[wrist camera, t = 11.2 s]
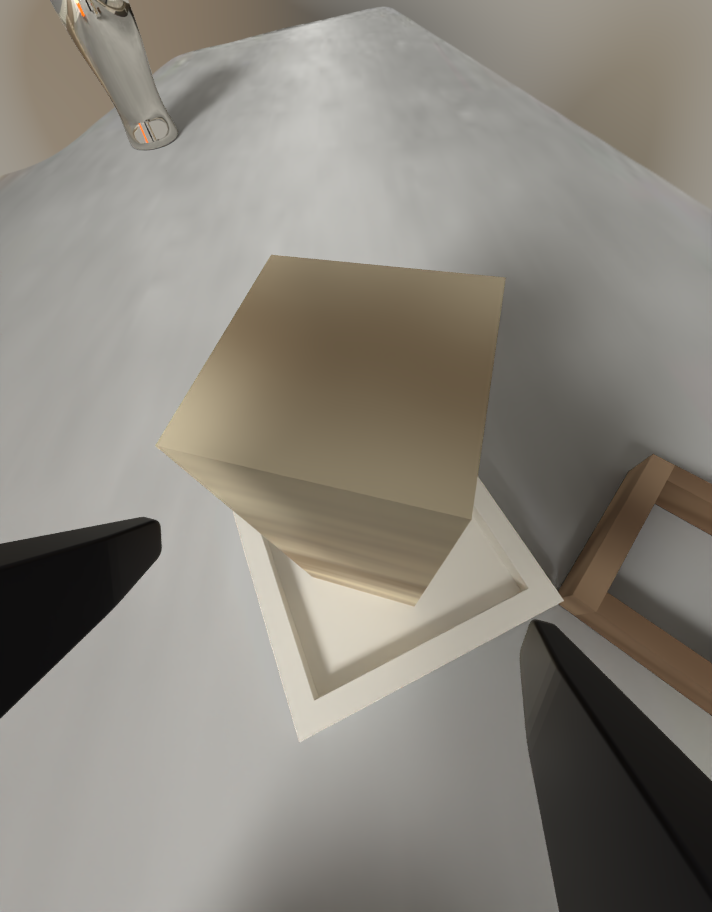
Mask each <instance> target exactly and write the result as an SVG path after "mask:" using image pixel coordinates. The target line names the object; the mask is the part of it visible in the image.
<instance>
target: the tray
mask: <svg viewBox="0 0 712 912" xmlns="http://www.w3.org/2000/svg"><path fill="white" fill-rule="evenodd" d="M232 511H233V510H232ZM233 514H234V518H235V521H236V525H237V528H238V532H239V535H240V539H241V542H242V546H243V549H244V553H245V556H246V560H247V563H248V567H249V570H250V573H251V577H252V580H253V584H254V587H255V591H256V594H257V598H258V601H259V605H260V608H261V612H262V615H263V619H264V622H265V626H266V629H267V632H268V636H269V639H270V643H271V646H272V650H273V653H274V657H275V660H276V664H277V667H278V671H279V674H280V678H281V681H282V685H283V688H284V691H285V695H286V698H287V702H288V705H289V709H290V712H291V716H292V719H293V723H294V726H295V730H296V733H297V737H298V740H299V742H301V741H303V740H305V739H307V738H309V737H311V736H313V735H314V734H316V733H318V732H320V731H322V730H324V729H326V728H327V727H329V726H331V725H333V724H335V723H337V722H339V721H341V720H342V719H344V718H346V717H348V716H350V715H352V714H354V713H355V712H357V711H359V710H361V709H363V708H365V707H367V706H369V705H370V704H372V703H374V702H376V701H378V700H380V699H382V698H383V697H385V696H387V695H389V694H391V693H393V692H395V691H397V690H398V689H400V688H402V687H404V686H406V685H408V684H410V683H411V682H413V681H415V680H417V679H419V678H421V677H423V676H425V675H426V674H428V673H430V672H432V671H434V670H436V669H438V668H439V667H441V666H443V665H445V664H447V663H449V662H451V661H452V660H454V659H456V658H458V657H460V656H462V655H464V654H466V653H467V652H469V651H471V650H473V649H475V648H477V647H479V646H480V645H482V644H484V643H486V642H488V641H490V640H492V639H494V638H495V637H497V636H499V635H501V634H503V633H505V632H507V631H508V630H510V629H512V628H514V627H516V626H518V625H520V624H522V623H523V622H525V621H527V620H529V619H531V618H533V617H535V616H536V615H538V614H540V613H542V612H544V611H546V610H548V609H550V608H551V607H553V606H555V605H557V604H559V603H561V602H563V601H564V600H563V598H562V597H561V595H560V594H559V593H558V591H557V590H556V588H555V587H554V585H553V584H552V582H551V581H550V580H549V578H548V577H547V575H546V574H545V572H544V571H543V569H542V568H541V567H540V565H539V564H538V562H537V561H536V559H535V558H534V557H533V555H532V554H531V552H530V551H529V549H528V548H527V546H526V545H525V544H524V542H523V541H522V539H521V538H520V536H519V535H518V533H517V532H516V531H515V529H514V528H513V526H512V525H511V523H510V522H509V520H508V519H507V518H506V516H505V515H504V513H503V512H502V510H501V509H500V507H499V506H498V505H497V503H496V502H495V500H494V499H493V497H492V496H491V494H490V493H489V492H488V490H487V489H486V487H485V486H484V484H483V483H482V481H481V480H480V479H479V477H477V485H476V492H475V499H474V506H473V513H472V520H471V521H470V523H469V524H468V526H467V527H466V529H465V530H464V532H463V533H462V535H461V536H460V538H459V539H458V541H457V542H456V544H455V545H454V547H453V549H452V550H451V552H450V553H449V555H448V556H447V558H446V559H445V561H444V562H443V564H442V565H441V567H440V568H439V570H438V571H437V573H436V574H435V576H434V577H433V579H432V581H431V582H430V584H429V585H428V587H427V588H426V590H425V591H424V593H423V594H422V596H421V597H420V599H419V600H418V602H417V603H416V605H415V606H410V605H407V604H403V603H400V602H397V601H393V600H390V599H386V598H383V597H379V596H376V595H372V594H369V593H366V592H362V591H359V590H355V589H352V588H348V587H345V586H342V585H338V584H335V583H331V582H328V581H324V580H321V579H317V578H314V577H312V576H311V575H309V574H308V573H307V572H306V571H305V570H303V569H302V568H301V567H300V566H299V565H297V564H296V563H295V562H294V561H293V560H291V559H290V558H289V557H288V556H287V555H285V554H284V553H283V552H282V551H281V550H279V549H278V548H277V547H276V546H275V545H273V544H272V543H271V542H270V541H269V540H267V539H266V538H265V537H264V536H263V535H261V534H260V533H259V532H258V531H257V530H256V529H254V528H253V527H252V526H251V525H250V524H248V523H247V522H246V521H245V520H244V519H242V518H241V517H240V516H239V515H238V514H236V513H235V512H234V511H233Z"/></svg>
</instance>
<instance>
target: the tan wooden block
mask: <svg viewBox="0 0 712 912" xmlns="http://www.w3.org/2000/svg"><path fill="white" fill-rule="evenodd" d="M505 279H506V278H504V277H494V276H484V275H473V274H463V273H453V272H442V271H432V270H422V269H411V268H401V267H391V266H380V265H370V264H360V263H350V262H339V261H329V260H319V259H308V258H298V257H288V256H277V255H271V256H270V258H269V259H268V261H267V263H266V264H265V266H264V267H263V269H262V271H261V272H260V274H259V276H258V277H257V279H256V281H255V282H254V284H253V286H252V287H251V289H250V291H249V292H248V294H247V296H246V297H245V299H244V300H243V302H242V304H241V305H240V307H239V309H238V310H237V312H236V314H235V315H234V317H233V319H232V320H231V322H230V324H229V325H228V327H227V328H226V330H225V332H224V333H223V335H222V337H221V338H220V340H219V342H218V343H217V345H216V347H215V348H214V350H213V352H212V353H211V355H210V356H209V358H208V360H207V361H206V363H205V365H204V366H203V368H202V370H201V371H200V373H199V375H198V376H197V378H196V380H195V381H194V383H193V385H192V386H191V388H190V389H189V391H188V393H187V394H186V396H185V398H184V399H183V401H182V403H181V404H180V406H179V408H178V409H177V411H176V413H175V414H174V416H173V417H172V419H171V421H170V422H169V424H168V426H167V427H166V429H165V431H164V432H163V434H162V436H161V437H160V439H159V441H158V442H157V444H156V445H155V446H156V447H157V448H159V449H160V450H161V451H162V452H163V453H165V454H166V455H167V456H168V457H169V458H171V459H172V460H173V461H174V462H175V463H177V464H178V465H179V466H180V467H181V468H183V469H184V470H185V471H186V472H187V473H189V474H190V475H191V476H192V477H193V478H195V479H196V480H197V481H198V482H199V483H201V484H202V485H203V486H204V487H205V488H206V489H208V490H209V491H210V492H211V493H212V494H214V495H215V496H216V497H217V498H218V499H220V500H221V501H222V502H223V503H224V504H226V505H227V506H228V507H229V508H230V509H232V510H233V511H234V512H235V513H236V514H238V515H239V516H240V517H241V518H242V519H244V520H245V521H246V522H247V523H248V524H250V525H251V526H252V527H253V528H254V529H256V530H257V531H258V532H259V533H260V534H261V535H263V536H264V537H265V538H266V539H267V540H269V541H270V542H271V543H272V544H273V545H275V546H276V547H277V548H278V549H279V550H281V551H282V552H283V553H284V554H285V555H287V556H288V557H289V558H290V559H291V560H293V561H294V562H295V563H296V564H297V565H299V566H300V567H301V568H302V569H303V570H305V571H306V572H307V573H308V574H309V575H311V576H312V577H314V578H317V579H321V580H324V581H328V582H331V583H335V584H338V585H342V586H345V587H348V588H352V589H355V590H359V591H362V592H366V593H369V594H372V595H376V596H379V597H383V598H386V599H390V600H393V601H397V602H400V603H403V604H407V605H410V606H415V605H416V603H417V602H418V600H419V599H420V597H421V596H422V594H423V593H424V591H425V590H426V588H427V587H428V585H429V584H430V582H431V581H432V579H433V577H434V576H435V574H436V573H437V571H438V570H439V568H440V567H441V565H442V564H443V562H444V561H445V559H446V558H447V556H448V555H449V553H450V552H451V550H452V549H453V547H454V545H455V544H456V542H457V541H458V539H459V538H460V536H461V535H462V533H463V532H464V530H465V529H466V527H467V526H468V524H469V523H470V521H471V520H472V513H473V506H474V499H475V492H476V485H477V477H478V470H479V463H480V456H481V449H482V442H483V435H484V428H485V421H486V414H487V406H488V399H489V392H490V385H491V378H492V371H493V364H494V357H495V350H496V342H497V335H498V328H499V321H500V314H501V307H502V300H503V293H504V286H505Z"/></svg>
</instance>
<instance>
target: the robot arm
mask: <svg viewBox="0 0 712 912" xmlns="http://www.w3.org/2000/svg"><path fill="white" fill-rule="evenodd" d="M161 550H162V544H161V526H160V523H159V522H158V521H157V520H154V519H150V518H147V517H139V518H134V519H128V520H123V521H118V522H113V523H107V524H102V525H97V526H92V527H86V528H81V529H76V530H71V531H65V532H60V533H55V534H50V535H44V536H39V537H34V538H29V539H23V540H18V541H13V542H8V543H2V544H0V718H1V717H3V716H4V715H5V714H6V713H7V712H8V711H9V710H10V709H11V708H12V707H13V706H14V705H15V704H16V703H17V702H18V701H19V700H20V699H21V698H22V697H23V696H24V695H25V694H26V693H27V692H28V691H29V690H30V689H31V688H32V687H33V686H34V685H36V684H37V683H38V682H39V681H40V680H41V679H42V678H43V677H44V676H45V675H46V674H47V673H48V672H49V671H50V670H51V669H52V668H53V667H54V666H55V665H56V664H57V663H58V662H59V661H60V660H61V659H62V658H63V657H64V656H65V655H66V654H67V653H68V652H70V651H71V650H72V649H73V648H74V647H75V646H76V645H77V644H78V643H79V642H80V641H81V640H82V639H83V638H84V637H85V636H86V635H87V634H88V633H89V632H90V631H91V630H92V629H93V628H94V627H95V626H96V625H97V624H98V623H99V622H100V621H101V620H102V619H104V618H105V617H106V616H107V615H108V614H109V613H110V612H111V611H112V610H113V609H114V608H115V606H116V605H117V604H118V603H119V602H120V601H121V600H122V599H123V598H124V596H125V595H126V594H127V593H128V592H129V591H130V590H131V588H132V587H133V586H134V585H135V584H136V583H137V582H138V580H139V579H140V578H141V577H142V576H143V575H144V574H145V572H146V571H147V570H148V569H149V568H150V567H151V566H152V564H153V563H154V562H155V561H156V560H157V559H158V557H159V555H160V553H161ZM520 671H521V683H522V694H523V706H524V717H525V728H526V738H527V745H528V751H529V757H530V762H531V767H532V773H533V778H534V783H535V788H536V793H537V799H538V804H539V809H540V814H541V819H542V825H543V830H544V835H545V840H546V845H547V851H548V856H549V861H550V866H551V871H552V876H553V882H554V887H555V892H556V897H557V902H558V908H559V912H712V781H711V780H710V779H709V778H708V777H707V776H706V775H705V774H704V773H703V772H702V771H701V770H700V769H699V768H698V767H697V766H696V765H695V764H694V763H693V762H692V761H691V760H690V759H689V758H688V757H687V756H686V755H685V754H684V753H683V752H682V751H681V750H680V749H679V748H678V747H677V746H676V745H675V744H674V743H673V742H672V741H671V740H670V739H669V738H668V737H667V736H666V735H665V734H664V733H663V732H662V731H661V730H660V729H659V728H658V727H657V726H656V725H655V724H654V723H653V722H652V721H651V720H650V719H649V718H648V717H647V716H646V715H645V714H644V713H643V712H642V711H641V710H640V709H639V708H638V707H637V706H636V705H635V704H634V703H633V702H632V701H631V700H630V699H629V698H628V697H627V696H626V695H625V694H624V693H623V692H622V691H621V690H620V689H619V688H618V687H617V686H616V685H615V684H614V683H613V682H612V681H611V680H610V679H609V678H608V677H607V676H606V675H605V674H604V673H603V672H602V671H601V670H600V669H599V668H598V667H597V666H596V665H595V664H594V663H593V662H592V661H591V660H590V659H589V658H588V657H587V656H586V655H585V654H584V653H583V652H582V651H581V650H580V649H579V648H578V647H577V646H576V645H575V644H574V643H573V642H572V641H571V640H570V639H569V638H568V637H567V636H566V635H565V634H564V633H563V632H562V631H561V630H560V629H559V628H558V627H557V626H555V625H554V624H552V623H548V622H544V621H540V620H536V619H534V620H532V621H531V622H530V624H529V627H528V630H527V633H526V635H525V638H524V641H523V644H522V647H521V651H520Z"/></svg>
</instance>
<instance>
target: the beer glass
mask: <svg viewBox="0 0 712 912" xmlns="http://www.w3.org/2000/svg"><path fill="white" fill-rule="evenodd" d="M50 1H51V3H52V5H53V7H54V9H55V11H56V12H57V14H58V16H59V18H60V20H61V22H62V23H63V25H64V27H65V29H66V31H67V32H68V34H69V35H70V37H71V39H72V40H73V42H74V43H75V45H76V47H77V48H78V50H79V51H80V53H81V54H82V56H83V58H84V59H85V61H86V62H87V64H88V65H89V67H90V68H91V70H92V71H93V73H94V74H95V75H96V77H97V79H98V80H99V82H100V83H101V85H102V86H103V88H104V89H105V91H106V93H107V94H108V96H109V97H110V99H111V101H112V102H113V104H114V106H115V108H116V110H117V112H118V114H119V116H120V119H121V121H122V124H123V126H124V129H125V132H126V135H127V137H128V140H129V142H130V144H131V146H132V147H133V148H135V149H138V150H151V149H156V148H160V147H162V146H165V145H167V144H169V143H171V142H172V141H174V140H175V139H176V137H177V136H178V130H177V128H176V126H175V124H174V122H173V120H172V119H171V117H170V115H169V113H168V112H167V110H166V108H165V106H164V104H163V102H162V100H161V98H160V95H159V93H158V90H157V88H156V85H155V82H154V79H153V76H152V72H151V69H150V66H149V62H148V59H147V55H146V52H145V49H144V46H143V42H142V38H141V35H140V32H139V29H138V26H137V23H136V20H135V17H134V14H133V11H132V9H131V6H130V3H129V1H128V0H50Z"/></svg>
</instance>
